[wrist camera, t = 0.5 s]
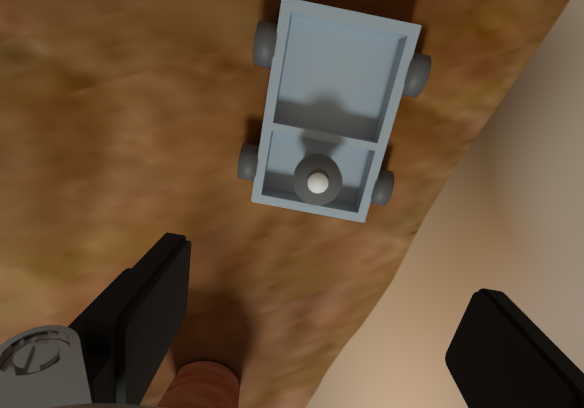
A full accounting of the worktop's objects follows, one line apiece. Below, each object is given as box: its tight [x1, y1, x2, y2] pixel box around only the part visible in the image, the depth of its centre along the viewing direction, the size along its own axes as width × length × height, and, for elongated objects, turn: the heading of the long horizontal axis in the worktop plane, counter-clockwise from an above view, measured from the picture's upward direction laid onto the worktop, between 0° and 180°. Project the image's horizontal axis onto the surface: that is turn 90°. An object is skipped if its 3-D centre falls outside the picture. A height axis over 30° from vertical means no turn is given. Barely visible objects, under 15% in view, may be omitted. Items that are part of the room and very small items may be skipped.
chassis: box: [238, 0, 431, 223], centre depth 33 cm, size 20×17×4 cm
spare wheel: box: [293, 154, 343, 205], centre depth 31 cm, size 5×5×2 cm
